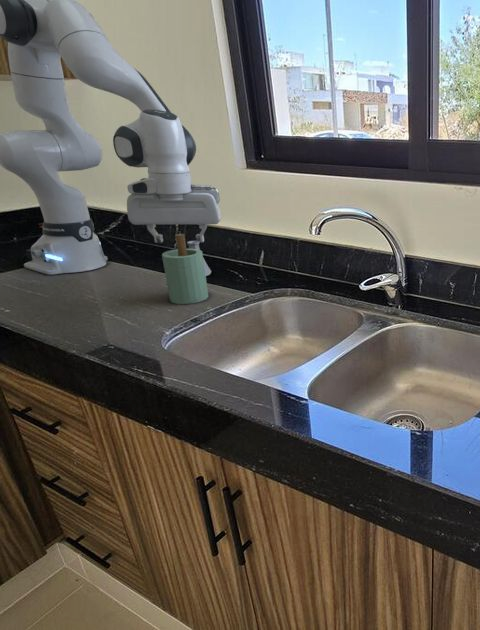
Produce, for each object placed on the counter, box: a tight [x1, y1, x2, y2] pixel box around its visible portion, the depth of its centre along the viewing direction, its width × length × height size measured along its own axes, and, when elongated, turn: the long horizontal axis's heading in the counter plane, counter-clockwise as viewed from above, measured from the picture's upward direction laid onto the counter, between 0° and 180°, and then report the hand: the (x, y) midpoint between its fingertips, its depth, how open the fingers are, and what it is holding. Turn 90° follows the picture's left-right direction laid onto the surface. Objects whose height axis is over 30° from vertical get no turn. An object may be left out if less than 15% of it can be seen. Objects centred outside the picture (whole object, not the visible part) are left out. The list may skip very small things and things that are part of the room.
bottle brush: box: [174, 233, 187, 256], centre depth 119 cm, size 4×4×16 cm
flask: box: [186, 240, 212, 277], centre depth 139 cm, size 7×7×10 cm
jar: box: [161, 248, 209, 305], centre depth 120 cm, size 9×9×12 cm
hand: (180, 242), depth 117 cm, fingers open, 8 cm apart
